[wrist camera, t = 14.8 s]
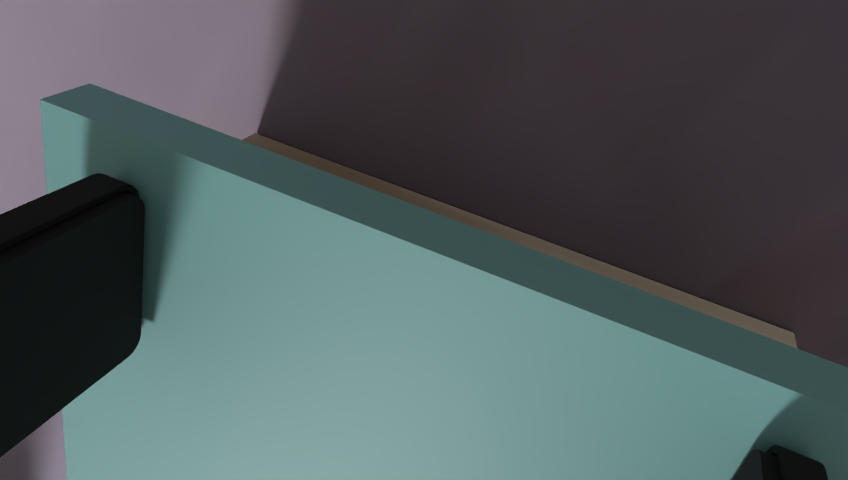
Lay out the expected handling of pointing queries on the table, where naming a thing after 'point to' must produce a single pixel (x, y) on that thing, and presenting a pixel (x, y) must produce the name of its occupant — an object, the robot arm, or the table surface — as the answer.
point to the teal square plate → (397, 337)
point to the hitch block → (529, 241)
